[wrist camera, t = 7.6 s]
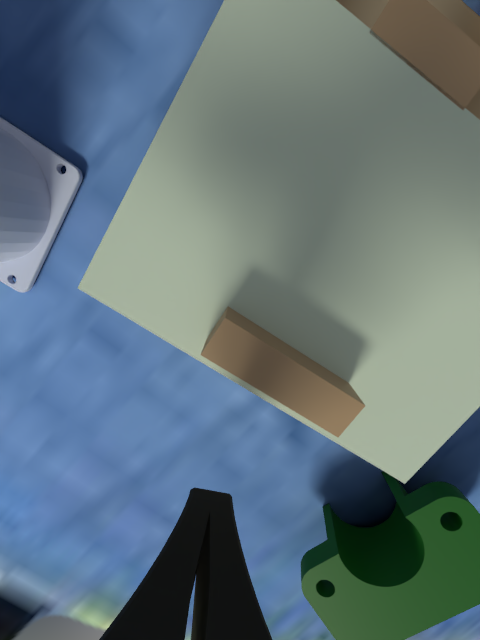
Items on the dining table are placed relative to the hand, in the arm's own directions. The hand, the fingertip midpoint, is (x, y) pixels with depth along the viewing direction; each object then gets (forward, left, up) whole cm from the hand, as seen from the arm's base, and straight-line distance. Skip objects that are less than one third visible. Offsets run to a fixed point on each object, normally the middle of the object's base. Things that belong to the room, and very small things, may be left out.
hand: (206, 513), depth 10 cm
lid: (0, +10, -6) cm, 12 cm away
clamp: (+15, -3, -10) cm, 18 cm away
